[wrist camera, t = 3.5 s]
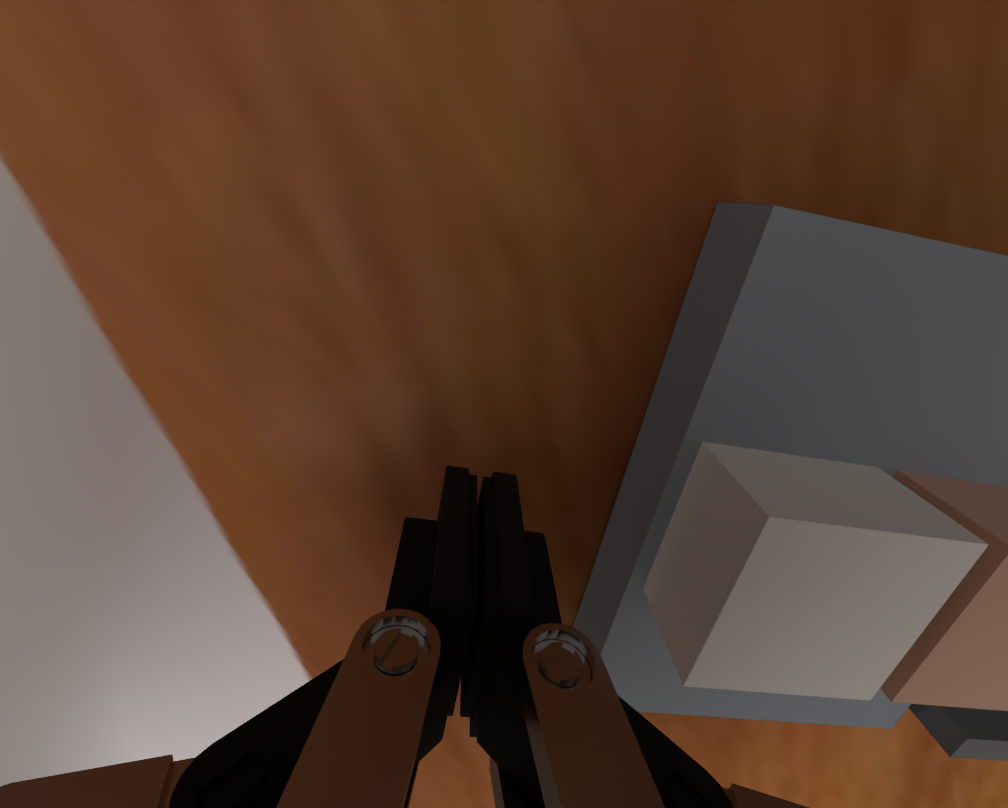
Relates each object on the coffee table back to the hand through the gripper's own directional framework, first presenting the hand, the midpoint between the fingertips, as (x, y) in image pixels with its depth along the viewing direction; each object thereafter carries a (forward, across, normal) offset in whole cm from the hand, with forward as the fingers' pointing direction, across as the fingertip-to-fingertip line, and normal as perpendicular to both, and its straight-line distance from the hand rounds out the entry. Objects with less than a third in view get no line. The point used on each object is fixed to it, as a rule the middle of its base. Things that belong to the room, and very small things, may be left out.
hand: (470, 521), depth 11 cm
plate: (+4, -11, 0) cm, 12 cm away
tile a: (+1, -8, 0) cm, 8 cm away
